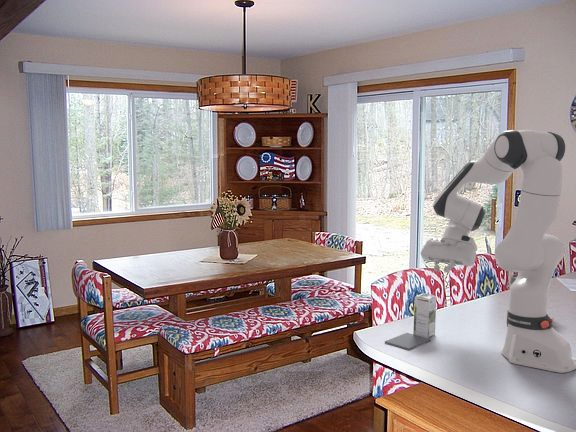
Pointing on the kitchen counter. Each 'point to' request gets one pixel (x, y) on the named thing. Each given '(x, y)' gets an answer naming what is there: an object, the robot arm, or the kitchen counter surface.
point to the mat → (408, 341)
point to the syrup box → (424, 315)
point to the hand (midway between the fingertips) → (440, 271)
